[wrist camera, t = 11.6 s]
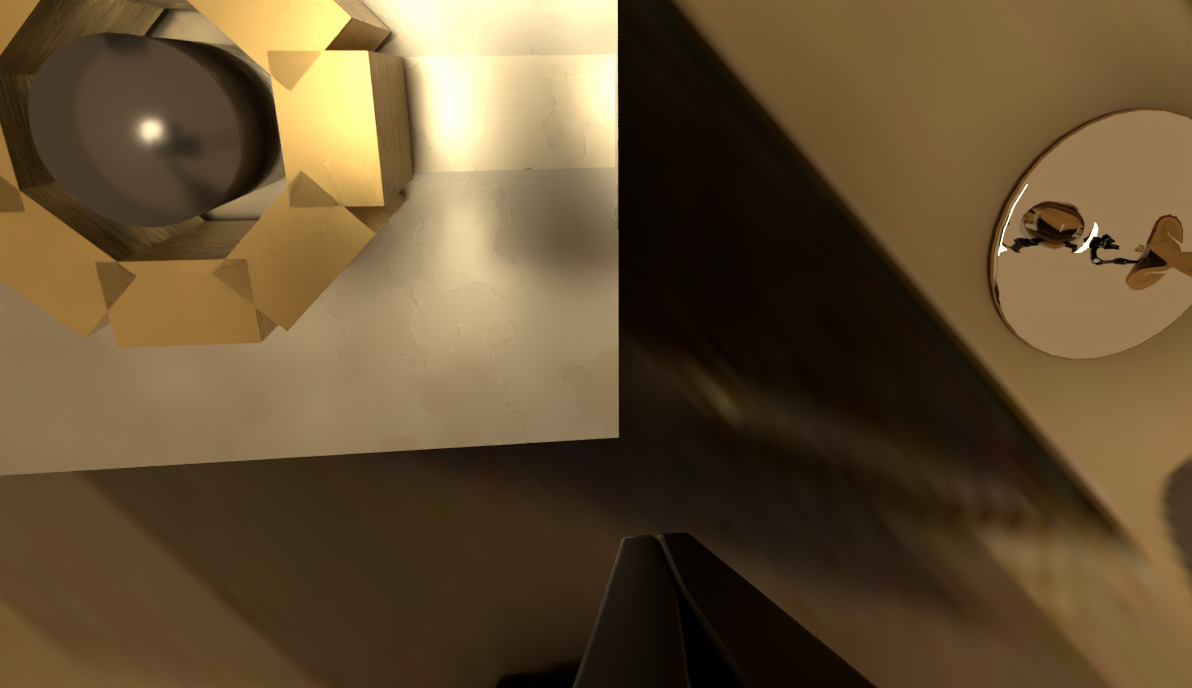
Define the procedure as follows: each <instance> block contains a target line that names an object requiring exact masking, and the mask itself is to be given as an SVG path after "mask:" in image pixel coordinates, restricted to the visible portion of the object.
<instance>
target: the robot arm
mask: <svg viewBox="0 0 1192 688" xmlns="http://www.w3.org/2000/svg"><path fill="white" fill-rule="evenodd" d="M496 688H878V687H876V686H875V685H874V684H873V683H872V682H870V681H869V680H868V679H867V678H865V677H864V676H863V675H862V674H860V673H859V672H858V671H857V670H856V669H854V668H853V667H852V666H851V665H849V664H848V663H847V662H846V661H845V660H843V659H842V658H841V657H840V656H838V655H837V654H836V653H835V652H833V651H832V650H831V649H830V648H829V647H827V646H826V645H825V644H824V643H822V642H821V641H820V640H819V639H818V638H816V637H815V636H814V635H813V634H811V633H810V632H809V631H808V630H806V629H805V628H804V627H803V626H802V625H800V624H799V623H798V622H797V621H795V620H794V619H793V618H792V617H791V616H789V615H788V614H787V613H786V612H784V611H783V610H782V609H781V608H780V607H778V606H777V605H776V604H775V603H773V602H772V601H771V600H770V599H768V598H767V597H766V596H765V595H764V594H762V593H761V592H760V591H759V590H757V589H756V588H755V587H754V586H753V585H751V584H750V583H749V582H748V581H746V580H745V579H744V578H743V577H741V576H740V575H739V574H738V573H737V572H735V571H734V570H733V569H732V568H730V567H729V566H728V565H727V564H726V563H724V562H723V561H722V560H721V559H719V558H718V557H717V556H716V555H714V554H713V553H712V552H711V551H710V550H708V549H707V548H706V547H705V546H703V545H702V544H701V543H700V542H699V541H697V540H696V539H695V538H694V537H692V536H691V535H690V534H688V533H671V534H660V535H658V536H657V537H656V539H655V538H654V537H653V536H651V535H644V536H630V537H624V538H623V539H622V541H621V543H620V546H619V549H618V552H617V555H616V558H615V561H614V564H613V567H612V570H611V573H610V576H609V579H608V582H607V585H606V588H605V591H604V594H603V597H602V600H601V603H600V606H599V609H598V612H597V615H596V618H595V621H594V624H593V627H592V630H591V633H590V636H589V639H588V642H587V645H586V648H585V651H584V654H583V657H582V660H581V663H580V666H579V669H578V672H577V673H571V674H560V675H549V676H538V677H527V678H516V679H508V680H503V681H502V682H500V683H499V684H498V685H497V686H496Z"/></svg>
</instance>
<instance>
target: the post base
mask: <svg viewBox="0 0 1192 688" xmlns="http://www.w3.org/2000/svg"><path fill="white" fill-rule="evenodd" d="M359 1H360V2H361V3H362V4H363V5H364V6H365V7H366V8H367V9H368V10H369V11H370V12H371V13H372V14H373V15H374V16H375V17H376V18H377V19H378V20H379V21H380V22H381V23H382V24H383V25H384V26H385V27H386V28H388V29H389V30H390V31H391V32H390V33H389V34H388V35H387V37H386V38H385V39H384V40H383V41H382V43H381V44H380V45H379V46H378V47H377V48H376V50H375V51H374V52H378V53H383V54H389V55H395V56H400V57H403V66H404V77H405V88H406V99H407V110H408V121H409V132H410V143H411V155H412V166H413V177H414V178H413V179H412V180H411V181H410V182H409V183H408V184H407V185H406V186H405V187H404V188H402V189H401V190H400V191H399V192H398V193H399V194H400V195H401V196H403V197H404V198H405V199H406V201H405V202H404V203H403V205H402V206H401V207H400V208H399V209H398V210H397V211H396V212H395V213H394V215H393V216H392V217H391V218H390V219H389V220H388V221H387V222H386V223H385V224H384V226H383V227H382V228H381V229H380V230H379V231H378V232H377V233H376V234H375V236H374V237H373V238H372V239H371V240H370V241H369V242H368V243H367V244H366V246H365V247H364V248H363V249H362V250H361V251H360V252H359V253H358V254H357V255H356V257H355V258H354V259H353V260H352V261H351V262H350V263H349V264H348V265H347V267H346V268H345V269H344V270H343V271H342V272H341V273H340V274H339V275H338V277H337V278H336V279H335V280H334V281H333V282H332V283H331V284H330V285H329V286H328V288H327V289H326V290H325V291H324V292H323V293H322V294H321V295H320V296H319V297H318V299H317V300H316V301H315V302H314V303H313V304H312V305H311V306H310V307H309V308H308V309H307V311H306V312H305V313H304V314H303V315H302V316H301V317H300V318H299V319H298V320H297V322H296V323H295V324H294V325H293V326H292V327H291V328H290V329H289V330H288V331H286V330H284V329H283V328H282V327H280V326H279V325H278V326H277V327H276V328H275V329H274V330H273V331H272V332H271V333H270V334H269V335H268V337H267V338H266V339H265V340H264V341H263V342H262V343H243V344H214V345H185V346H157V347H128V348H117V347H116V343H115V339H114V335H113V331H112V327H111V323H110V324H108V325H107V326H105V327H103V328H102V329H100V330H98V331H97V332H95V333H93V334H92V335H90V336H88V337H87V338H84V337H82V336H81V335H79V334H78V333H76V332H75V331H73V330H72V329H71V328H69V327H68V326H66V325H65V324H63V323H62V322H60V321H59V320H57V319H56V318H54V317H53V316H52V315H50V314H49V313H47V312H46V311H44V310H43V309H41V308H40V307H38V306H37V305H35V304H34V303H33V302H31V301H30V300H28V299H27V298H25V297H24V296H22V295H21V294H19V293H18V292H16V291H15V290H14V289H12V288H11V287H9V286H8V285H6V284H5V283H3V282H2V281H0V475H14V474H30V473H47V472H63V471H79V470H96V469H112V468H128V467H144V466H161V465H177V464H193V463H210V462H226V461H242V460H258V459H275V458H291V457H307V456H324V455H340V454H356V453H372V452H389V451H405V450H421V449H437V448H454V447H470V446H486V445H503V444H519V443H535V442H551V441H568V440H584V439H600V438H617V437H619V340H618V0H359ZM28 115H29V125H30V130H31V134H32V138H33V141H34V144H35V147H36V149H37V151H38V153H39V156H40V158H41V160H42V162H43V163H44V165H45V166H46V168H47V169H48V171H49V173H50V174H51V175H52V176H53V178H54V179H55V180H56V181H57V183H58V184H59V185H60V186H61V187H62V188H63V189H64V190H65V191H66V192H67V193H68V194H69V195H70V196H71V197H73V198H74V199H75V200H76V201H78V202H79V203H80V204H82V205H83V206H85V207H86V208H88V209H89V210H91V211H93V212H94V213H96V214H98V215H100V216H102V217H104V218H107V219H110V220H112V221H115V222H118V223H121V224H125V225H129V226H136V227H147V228H156V227H166V226H171V225H175V224H179V223H181V222H184V221H187V220H189V219H191V218H194V217H196V216H200V217H201V218H202V219H204V220H205V221H246V220H259V219H260V218H261V216H262V215H263V214H264V213H265V212H266V211H267V209H268V208H269V207H270V206H271V205H272V204H273V202H274V201H275V200H276V199H277V198H278V196H279V195H280V194H281V193H282V192H283V191H284V189H285V188H286V187H287V181H286V174H285V168H284V161H283V154H282V148H281V141H280V135H279V128H278V122H277V115H276V109H275V102H274V95H273V89H272V82H271V76H270V74H269V73H268V72H267V71H266V70H264V69H263V68H262V67H261V66H260V65H259V64H258V63H257V62H255V61H254V60H253V59H252V58H251V57H250V56H249V55H248V54H247V53H245V52H244V51H243V50H242V49H241V48H240V47H239V46H238V45H236V44H235V43H234V42H233V41H232V40H231V39H230V38H229V37H227V36H226V35H225V34H224V33H223V32H222V31H221V30H220V29H218V28H217V27H216V26H215V25H214V24H213V23H212V22H211V21H209V20H208V19H207V18H206V17H205V16H204V15H203V14H202V13H200V12H199V11H198V10H197V9H164V10H163V11H162V12H161V14H160V15H159V16H158V18H157V19H156V20H155V22H154V23H153V24H152V26H151V27H150V28H149V29H148V31H147V32H146V33H145V35H144V36H142V35H133V34H124V33H109V32H107V33H94V34H90V35H85V36H81V37H79V38H76V39H74V40H71V41H69V42H67V43H66V44H64V45H62V46H61V47H59V48H58V49H57V50H55V51H54V52H53V53H52V54H51V55H50V56H49V57H48V58H47V59H46V60H45V61H44V63H43V64H42V65H41V67H40V69H39V70H38V72H37V74H36V76H35V78H34V81H33V84H32V86H31V91H30V96H29V105H28Z"/></svg>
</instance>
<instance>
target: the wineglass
mask: <svg viewBox="0 0 1192 688" xmlns="http://www.w3.org/2000/svg"><path fill="white" fill-rule="evenodd" d="M990 280H991V286H992V292H993V297H994V301H995V303H996V305H997V308H998V310H999V312H1000V315H1001V317H1002V319H1003V320H1004V322H1005V323H1006V324H1007V326H1008V327H1009V328H1010V330H1011V331H1012V332H1013V334H1014V335H1015V336H1017V337H1018V338H1019V339H1020V340H1022V341H1023V342H1024V343H1025V344H1027V345H1028V346H1029V347H1031V348H1033V349H1036V350H1038V351H1040V352H1042V353H1044V354H1047V355H1049V356H1054V357H1059V358H1065V359H1070V360H1071V359H1095V358H1100V357H1105V356H1110V355H1114V354H1117V353H1120V352H1123V351H1125V350H1128V349H1130V348H1133V347H1135V346H1138V345H1140V344H1141V343H1143V342H1145V341H1147V340H1148V339H1150V338H1152V337H1154V336H1155V335H1157V334H1159V333H1160V332H1161V331H1163V330H1164V329H1165V328H1166V327H1168V326H1169V325H1170V324H1172V323H1173V322H1174V321H1175V320H1177V319H1178V318H1179V317H1180V316H1181V315H1182V314H1183V313H1184V312H1185V311H1186V310H1187V309H1188V308H1189V307H1190V306H1191V305H1192V119H1191V118H1190V117H1188V116H1186V115H1184V114H1180V113H1176V112H1172V111H1169V110H1165V109H1148V108H1136V109H1131V110H1126V111H1121V112H1116V113H1111V114H1109V115H1106V116H1104V117H1101V118H1099V119H1097V120H1094V121H1092V122H1089V123H1087V124H1085V125H1083V126H1082V127H1080V128H1078V129H1077V130H1075V131H1073V132H1072V133H1070V134H1069V135H1067V136H1065V137H1064V138H1062V139H1061V140H1060V141H1058V142H1057V143H1056V144H1055V145H1054V146H1053V147H1052V148H1050V149H1049V150H1048V151H1047V152H1046V153H1045V154H1043V155H1042V156H1041V157H1040V158H1039V159H1038V160H1037V162H1036V163H1035V164H1034V165H1033V166H1032V167H1031V169H1030V170H1029V171H1028V172H1027V173H1026V175H1025V176H1024V177H1023V178H1022V179H1021V181H1020V182H1019V184H1018V186H1017V187H1016V189H1015V191H1014V192H1013V194H1012V195H1011V197H1010V199H1009V200H1008V202H1007V204H1006V206H1005V209H1004V211H1003V213H1002V216H1001V218H1000V221H999V223H998V226H997V228H996V232H995V237H994V241H993V245H992V250H991V261H990Z"/></svg>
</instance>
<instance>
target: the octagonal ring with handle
mask: <svg viewBox="0 0 1192 688" xmlns="http://www.w3.org/2000/svg"><path fill="white" fill-rule="evenodd" d="M164 9H197V10H198V11H199V12H200V13H202V14H203V15H204V16H205V17H206V18H207V19H208V20H209V21H211V22H212V23H213V24H214V25H215V26H216V27H217V28H218V29H220V30H221V31H222V32H223V33H224V34H225V35H226V36H227V37H229V38H230V39H231V40H232V41H233V42H234V43H235V44H236V45H238V46H239V47H240V48H241V49H242V50H243V51H244V52H245V53H247V54H248V55H249V56H250V57H251V58H252V59H253V60H254V61H255V62H257V63H258V64H259V65H260V66H261V67H262V68H263V69H264V70H266V71H267V72H268V73H269V74H270V76H271V82H272V89H273V95H274V102H275V109H276V115H277V122H278V128H279V135H280V141H281V148H282V154H283V161H284V168H285V174H286V181H287V187H286V188H285V189H284V191H283V192H282V193H281V194H280V195H279V196H278V198H277V199H276V200H275V201H274V202H273V204H272V205H271V206H270V207H269V208H268V209H267V211H266V212H265V213H264V214H263V215H262V216H261V218H260V219H259V220H246V221H205V220H204V219H202V218H201V217H200V216H196V217H194V218H191V219H189V220H187V221H184V222H181V223H179V224H175V225H171V226H166V227H156V228H147V227H136V226H129V225H125V224H121V223H118V222H115V221H112V220H110V219H107V218H104V217H102V216H100V215H98V214H96V213H94V212H93V211H91V210H89V209H88V208H86V207H85V206H83V205H82V204H80V203H79V202H78V201H76V200H75V199H74V198H73V197H71V196H70V195H69V194H68V193H67V192H66V191H65V190H64V189H63V188H62V187H61V186H60V185H59V184H58V183H57V181H56V180H55V179H54V178H53V176H52V175H51V174H50V173H49V171H48V169H47V168H46V166H45V165H44V163H43V162H42V160H41V158H40V156H39V153H38V151H37V149H36V147H35V144H34V141H33V138H32V134H31V130H30V125H29V115H28V105H29V96H30V91H31V86H32V84H33V81H34V78H35V76H36V74H37V72H38V70H39V69H40V67H41V65H42V64H43V63H44V61H45V60H46V59H47V58H48V57H49V56H50V55H51V54H52V53H53V52H54V51H55V50H57V49H58V48H59V47H61V46H62V45H64V44H66V43H67V42H69V41H71V40H74V39H76V38H79V37H81V36H85V35H90V34H94V33H107V32H109V33H124V34H133V35H142V36H144V35H145V33H146V32H147V31H148V29H149V28H150V27H151V26H152V24H153V23H154V22H155V20H156V19H157V18H158V16H159V15H160V14H161V12H162V11H163V10H164ZM390 32H391V31H390V30H389V29H388V28H386V27H385V26H384V25H383V24H382V23H381V22H380V21H379V20H378V19H377V18H376V17H375V16H374V15H373V14H372V13H371V12H370V11H369V10H368V9H367V8H366V7H365V6H364V5H363V4H362V3H361V2H360V1H359V0H0V281H2V282H3V283H5V284H6V285H8V286H9V287H11V288H12V289H14V290H15V291H16V292H18V293H19V294H21V295H22V296H24V297H25V298H27V299H28V300H30V301H31V302H33V303H34V304H35V305H37V306H38V307H40V308H41V309H43V310H44V311H46V312H47V313H49V314H50V315H52V316H53V317H54V318H56V319H57V320H59V321H60V322H62V323H63V324H65V325H66V326H68V327H69V328H71V329H72V330H73V331H75V332H76V333H78V334H79V335H81V336H82V337H84V338H87V337H88V336H90V335H92V334H93V333H95V332H97V331H98V330H100V329H102V328H103V327H105V326H107V325H108V324H110V323H111V327H112V331H113V335H114V339H115V343H116V347H117V348H128V347H157V346H185V345H214V344H243V343H262V342H263V341H264V340H265V339H266V338H267V337H268V335H269V334H270V333H271V332H272V331H273V330H274V329H275V328H276V327H277V326H278V325H279V326H280V327H282V328H283V329H284V330H286V331H288V330H289V329H290V328H291V327H292V326H293V325H294V324H295V323H296V322H297V320H298V319H299V318H300V317H301V316H302V315H303V314H304V313H305V312H306V311H307V309H308V308H309V307H310V306H311V305H312V304H313V303H314V302H315V301H316V300H317V299H318V297H319V296H320V295H321V294H322V293H323V292H324V291H325V290H326V289H327V288H328V286H329V285H330V284H331V283H332V282H333V281H334V280H335V279H336V278H337V277H338V275H339V274H340V273H341V272H342V271H343V270H344V269H345V268H346V267H347V265H348V264H349V263H350V262H351V261H352V260H353V259H354V258H355V257H356V255H357V254H358V253H359V252H360V251H361V250H362V249H363V248H364V247H365V246H366V244H367V243H368V242H369V241H370V240H371V239H372V238H373V237H374V236H375V234H376V233H377V232H378V231H379V230H380V229H381V228H382V227H383V226H384V224H385V223H386V222H387V221H388V220H389V219H390V218H391V217H392V216H393V215H394V213H395V212H396V211H397V210H398V209H399V208H400V207H401V206H402V205H403V203H404V202H405V201H406V199H405V198H404V197H403V196H401V195H400V194H399V193H398V192H399V191H400V190H401V189H402V188H404V187H405V186H406V185H407V184H408V183H409V182H410V181H411V180H412V179H413V178H414V177H413V166H412V155H411V143H410V132H409V121H408V110H407V99H406V88H405V77H404V66H403V57H400V56H395V55H389V54H383V53H378V52H374V51H375V50H376V48H377V47H378V46H379V45H380V44H381V43H382V41H383V40H384V39H385V38H386V37H387V35H388V34H389V33H390Z"/></svg>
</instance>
